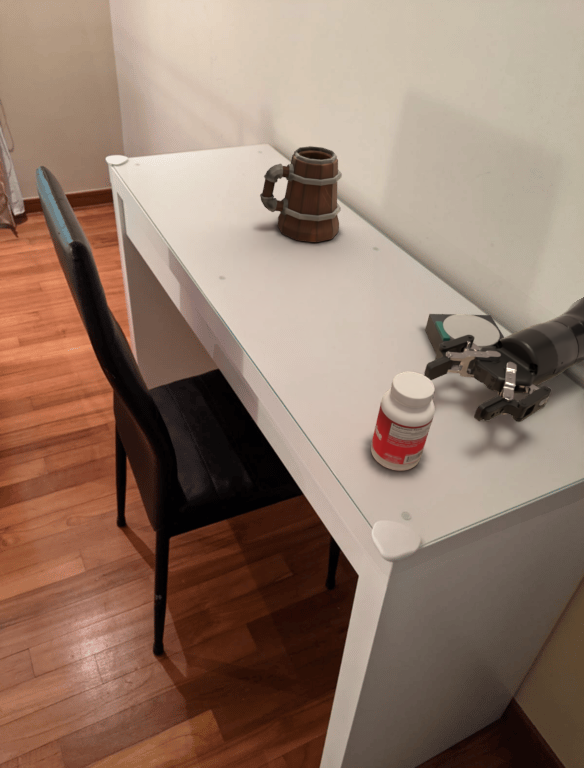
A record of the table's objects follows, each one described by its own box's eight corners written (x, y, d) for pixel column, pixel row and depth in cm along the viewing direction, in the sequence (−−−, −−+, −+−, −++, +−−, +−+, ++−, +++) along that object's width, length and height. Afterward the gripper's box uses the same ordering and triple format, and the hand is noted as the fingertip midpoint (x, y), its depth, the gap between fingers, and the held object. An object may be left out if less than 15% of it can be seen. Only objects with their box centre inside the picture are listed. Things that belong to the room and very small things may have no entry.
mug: (326, 215, 127) (336, 142, 117) (344, 242, 118) (356, 165, 108) (252, 217, 123) (256, 141, 114) (265, 245, 114) (269, 165, 105)
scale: (485, 330, 98) (491, 311, 95) (507, 369, 90) (515, 349, 88) (425, 329, 97) (430, 310, 94) (442, 368, 89) (448, 348, 87)
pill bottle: (376, 430, 77) (392, 361, 70) (423, 444, 76) (445, 375, 69) (364, 463, 73) (380, 393, 66) (415, 479, 72) (437, 409, 65)
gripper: (501, 305, 84) (417, 338, 76) (591, 361, 75) (506, 404, 67) (485, 349, 89) (405, 384, 81) (568, 406, 80) (487, 451, 72)
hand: (451, 393), depth 74 cm, fingers open, 8 cm apart
